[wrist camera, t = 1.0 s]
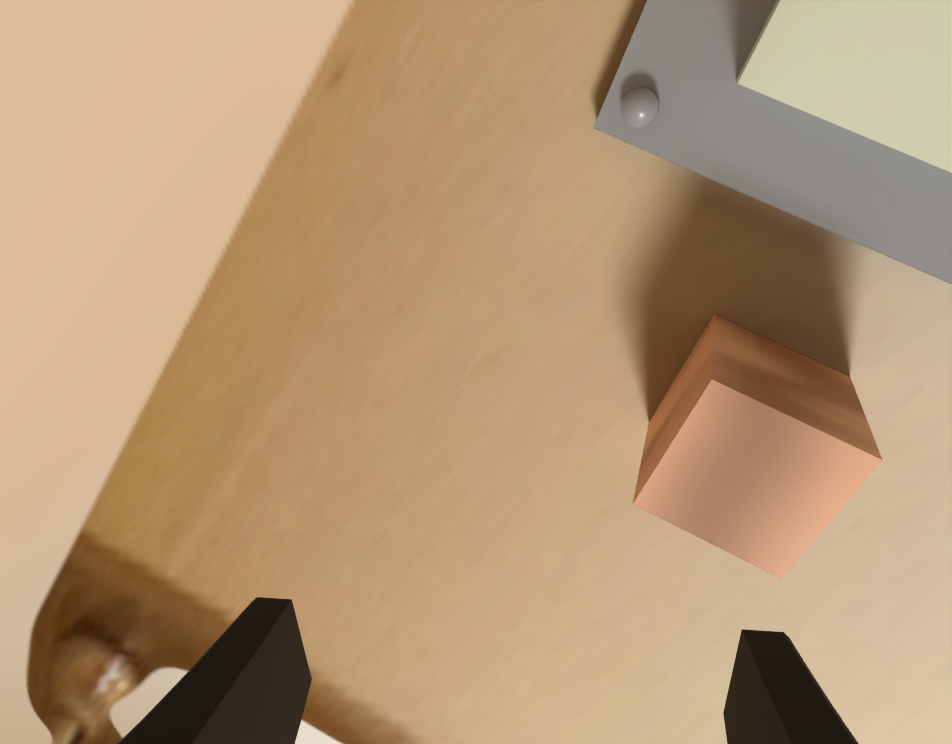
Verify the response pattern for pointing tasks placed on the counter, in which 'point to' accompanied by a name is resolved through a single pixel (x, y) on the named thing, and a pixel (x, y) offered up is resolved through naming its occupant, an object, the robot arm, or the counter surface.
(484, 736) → the counter surface
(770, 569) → the rust block
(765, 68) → the sage brick
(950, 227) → the baseplate
